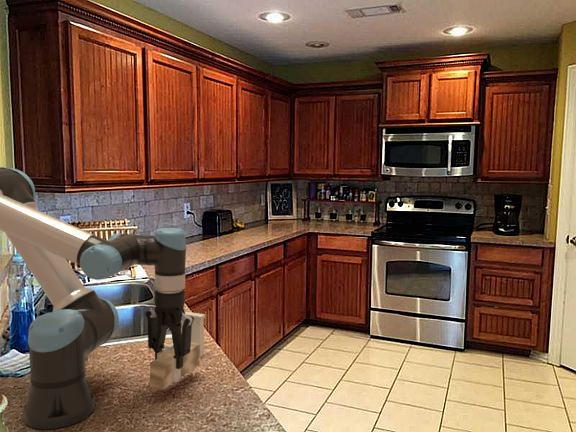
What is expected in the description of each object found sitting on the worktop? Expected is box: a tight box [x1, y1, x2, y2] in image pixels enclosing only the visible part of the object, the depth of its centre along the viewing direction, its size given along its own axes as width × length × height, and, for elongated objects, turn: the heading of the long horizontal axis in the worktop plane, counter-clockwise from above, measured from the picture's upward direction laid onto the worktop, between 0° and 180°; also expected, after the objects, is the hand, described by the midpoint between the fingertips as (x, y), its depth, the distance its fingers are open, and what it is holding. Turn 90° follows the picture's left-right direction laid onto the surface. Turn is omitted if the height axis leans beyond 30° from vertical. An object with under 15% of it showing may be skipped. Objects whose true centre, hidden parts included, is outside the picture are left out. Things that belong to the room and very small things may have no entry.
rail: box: [149, 342, 200, 390], centre depth 126 cm, size 16×4×6 cm, turn 157°
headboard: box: [164, 311, 206, 358], centre depth 147 cm, size 6×11×13 cm, turn 67°
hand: (168, 377), depth 124 cm, fingers closed on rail, 4 cm apart
